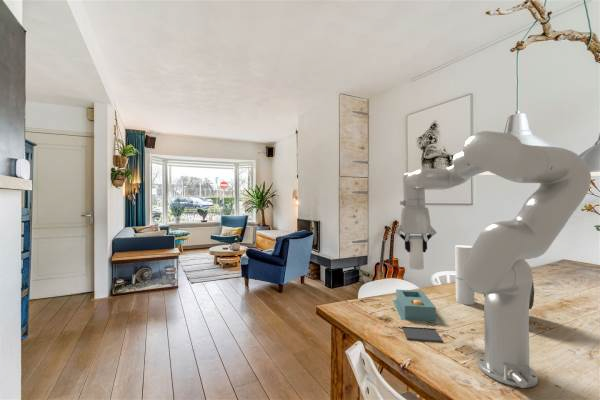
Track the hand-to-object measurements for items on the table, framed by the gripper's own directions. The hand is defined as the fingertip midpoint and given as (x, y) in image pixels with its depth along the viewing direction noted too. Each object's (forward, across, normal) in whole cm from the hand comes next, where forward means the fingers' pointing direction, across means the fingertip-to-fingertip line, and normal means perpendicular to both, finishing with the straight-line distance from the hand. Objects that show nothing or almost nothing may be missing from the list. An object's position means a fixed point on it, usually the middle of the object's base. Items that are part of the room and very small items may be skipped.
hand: (416, 251), depth 103 cm
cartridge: (+6, 0, 0) cm, 6 cm away
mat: (+27, -1, -9) cm, 28 cm away
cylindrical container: (+27, +25, +25) cm, 44 cm away
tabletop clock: (+27, +35, +12) cm, 46 cm away
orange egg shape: (+24, +1, +3) cm, 25 cm away
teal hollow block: (+27, 0, +9) cm, 28 cm away
